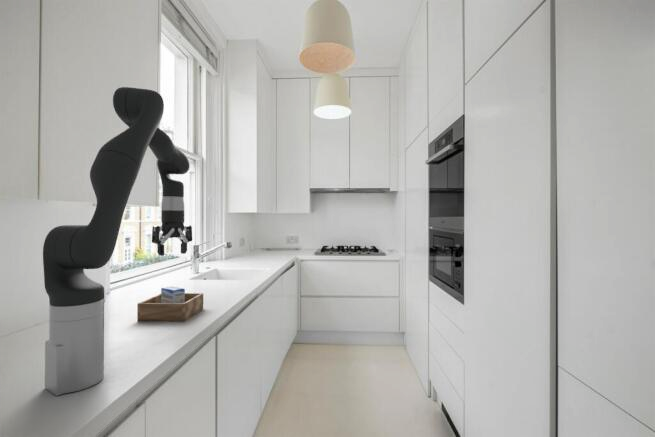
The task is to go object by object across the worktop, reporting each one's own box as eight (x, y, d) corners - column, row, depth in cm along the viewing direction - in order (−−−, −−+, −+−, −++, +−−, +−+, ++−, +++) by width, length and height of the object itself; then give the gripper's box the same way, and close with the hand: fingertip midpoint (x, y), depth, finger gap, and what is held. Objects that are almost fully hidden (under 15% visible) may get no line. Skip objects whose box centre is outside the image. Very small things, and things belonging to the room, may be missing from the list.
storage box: (184, 321, 110) (184, 304, 110) (137, 321, 110) (137, 303, 111) (203, 308, 126) (203, 293, 126) (162, 308, 126) (162, 293, 127)
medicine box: (160, 311, 119) (160, 287, 119) (171, 308, 122) (171, 285, 122) (173, 315, 114) (173, 290, 114) (185, 312, 118) (185, 288, 118)
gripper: (160, 208, 110) (159, 256, 110) (196, 210, 123) (196, 253, 122) (147, 209, 114) (147, 255, 114) (184, 210, 127) (184, 252, 126)
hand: (172, 254), depth 118 cm, fingers open, 8 cm apart
